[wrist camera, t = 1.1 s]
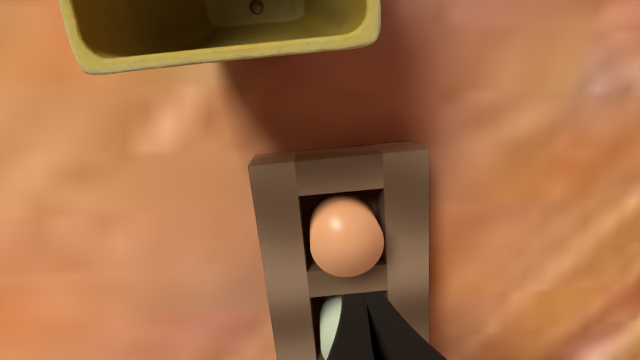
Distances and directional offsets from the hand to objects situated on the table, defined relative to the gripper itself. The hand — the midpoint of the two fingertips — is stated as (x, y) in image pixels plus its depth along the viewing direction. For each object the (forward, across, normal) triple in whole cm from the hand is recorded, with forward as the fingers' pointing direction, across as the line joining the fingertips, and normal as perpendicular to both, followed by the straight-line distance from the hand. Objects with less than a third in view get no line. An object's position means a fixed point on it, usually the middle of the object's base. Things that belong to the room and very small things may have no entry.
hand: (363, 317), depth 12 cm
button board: (+9, 0, +6) cm, 11 cm away
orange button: (+8, 0, 0) cm, 8 cm away
